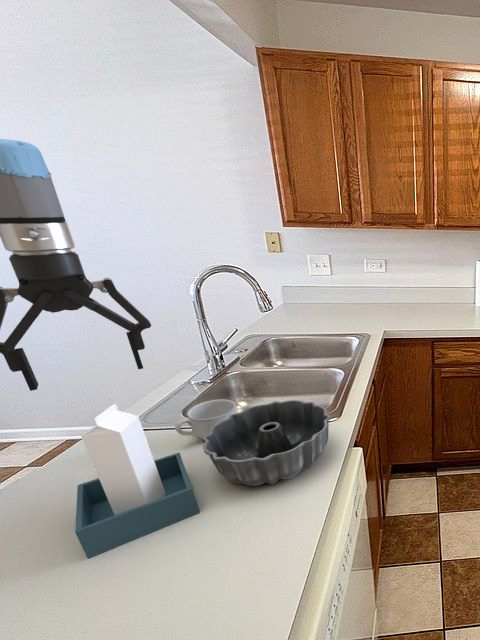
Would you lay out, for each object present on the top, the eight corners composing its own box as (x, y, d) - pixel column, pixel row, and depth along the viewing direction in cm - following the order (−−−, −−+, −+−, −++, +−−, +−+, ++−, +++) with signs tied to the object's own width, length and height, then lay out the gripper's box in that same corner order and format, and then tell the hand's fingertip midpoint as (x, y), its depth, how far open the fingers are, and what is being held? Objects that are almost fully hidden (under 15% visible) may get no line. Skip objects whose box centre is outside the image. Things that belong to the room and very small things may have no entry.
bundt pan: (306, 501, 83) (299, 461, 79) (184, 498, 84) (170, 458, 80) (349, 433, 107) (345, 400, 104) (254, 431, 108) (247, 398, 105)
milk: (166, 495, 83) (134, 401, 75) (151, 515, 78) (115, 416, 70) (133, 499, 82) (97, 404, 74) (114, 520, 76) (73, 420, 68)
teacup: (235, 419, 114) (228, 395, 111) (246, 434, 107) (240, 408, 104) (176, 438, 105) (168, 411, 102) (184, 455, 98) (175, 427, 95)
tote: (88, 508, 81) (77, 484, 78) (186, 474, 91) (179, 452, 89) (87, 558, 69) (75, 532, 67) (200, 512, 80) (192, 488, 77)
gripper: (-98, 260, 51) (-24, 406, 59) (147, 249, 67) (180, 365, 75) (-81, 255, 56) (-15, 390, 64) (143, 245, 72) (174, 354, 80)
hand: (90, 376), depth 69 cm, fingers open, 13 cm apart
